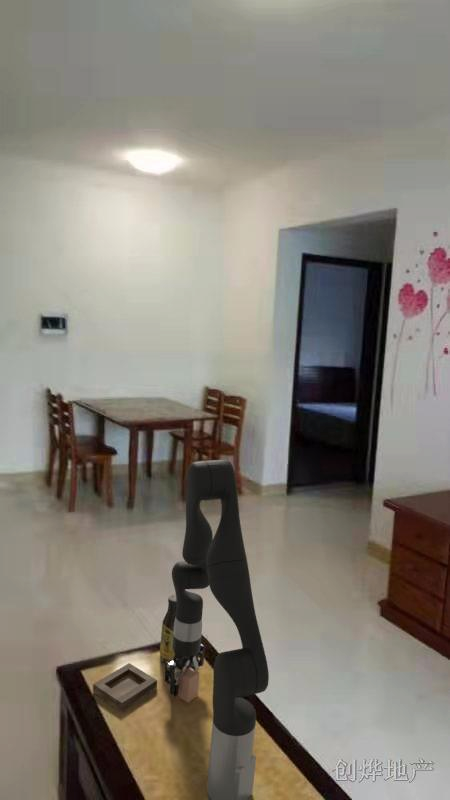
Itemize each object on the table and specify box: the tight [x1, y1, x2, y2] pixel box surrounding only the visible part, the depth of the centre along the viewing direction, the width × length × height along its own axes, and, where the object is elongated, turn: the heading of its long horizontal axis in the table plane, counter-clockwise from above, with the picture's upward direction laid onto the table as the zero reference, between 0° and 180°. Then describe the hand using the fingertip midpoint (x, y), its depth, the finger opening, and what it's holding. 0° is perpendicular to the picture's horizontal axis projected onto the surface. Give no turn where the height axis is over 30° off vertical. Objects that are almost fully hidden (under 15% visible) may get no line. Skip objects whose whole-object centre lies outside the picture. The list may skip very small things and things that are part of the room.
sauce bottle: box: [159, 593, 176, 663], centre depth 178 cm, size 6×6×20 cm
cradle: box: [92, 662, 158, 713], centre depth 164 cm, size 11×13×2 cm
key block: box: [168, 667, 200, 703], centre depth 164 cm, size 7×4×7 cm, turn 53°
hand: (183, 688), depth 165 cm, fingers open, 7 cm apart
